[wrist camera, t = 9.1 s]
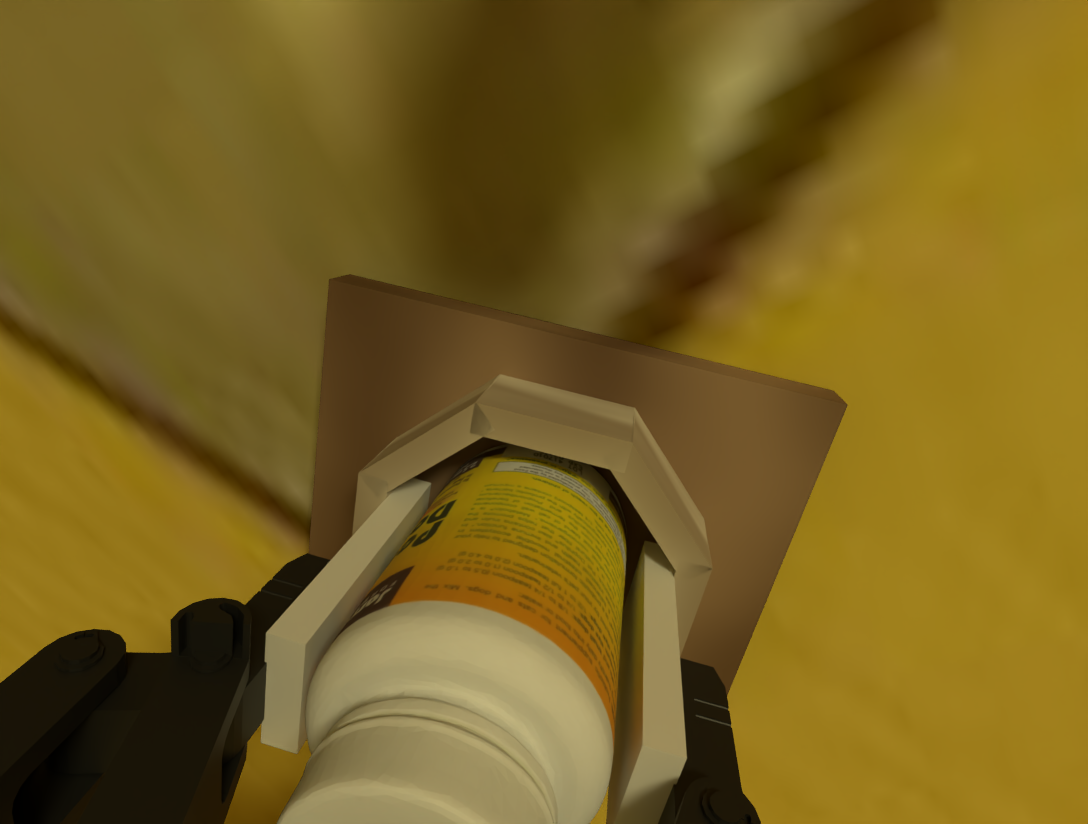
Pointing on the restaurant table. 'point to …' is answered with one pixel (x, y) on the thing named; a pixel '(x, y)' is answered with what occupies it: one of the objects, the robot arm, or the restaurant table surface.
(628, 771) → the robot arm
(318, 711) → the supplement bottle
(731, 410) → the holder
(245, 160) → the restaurant table surface
